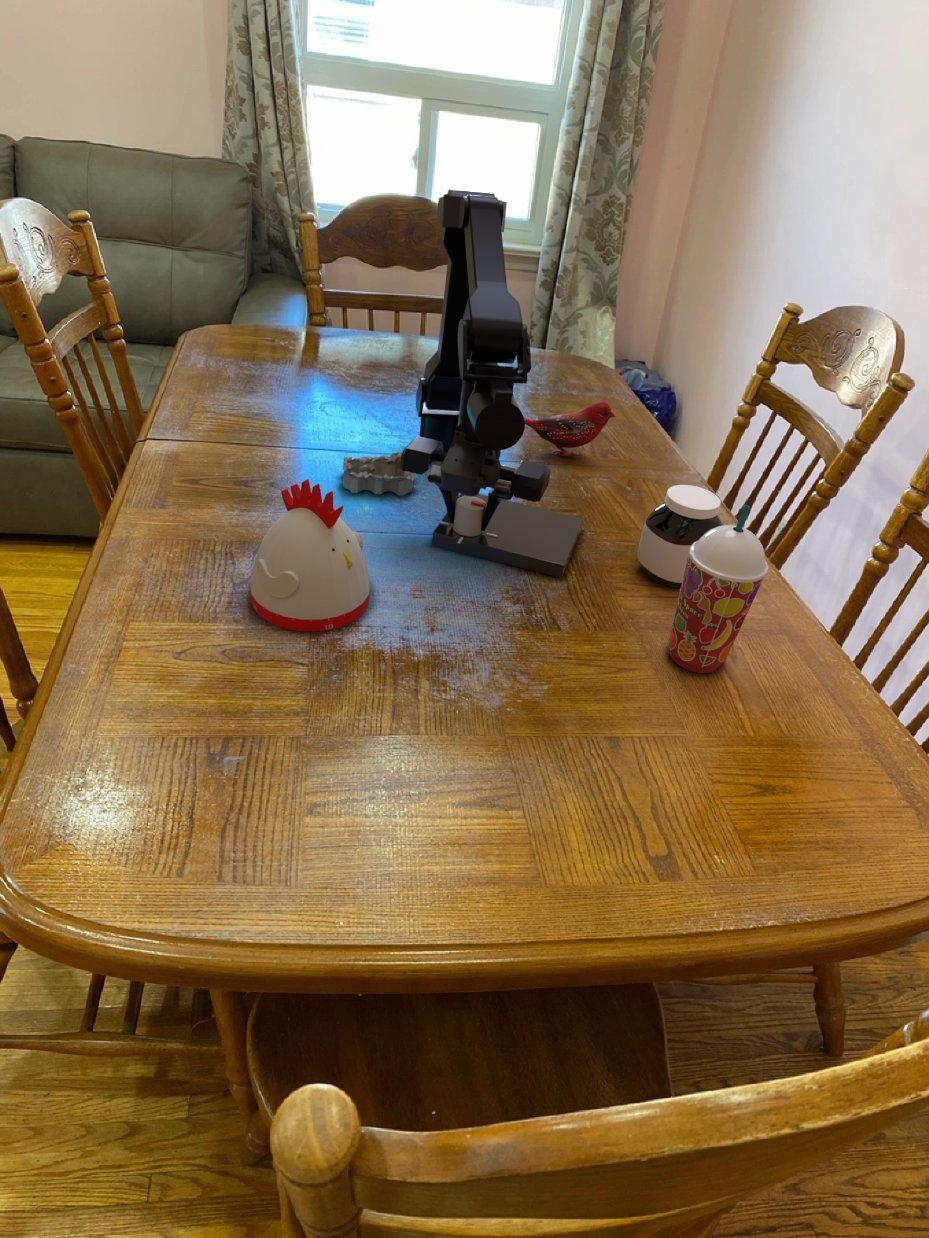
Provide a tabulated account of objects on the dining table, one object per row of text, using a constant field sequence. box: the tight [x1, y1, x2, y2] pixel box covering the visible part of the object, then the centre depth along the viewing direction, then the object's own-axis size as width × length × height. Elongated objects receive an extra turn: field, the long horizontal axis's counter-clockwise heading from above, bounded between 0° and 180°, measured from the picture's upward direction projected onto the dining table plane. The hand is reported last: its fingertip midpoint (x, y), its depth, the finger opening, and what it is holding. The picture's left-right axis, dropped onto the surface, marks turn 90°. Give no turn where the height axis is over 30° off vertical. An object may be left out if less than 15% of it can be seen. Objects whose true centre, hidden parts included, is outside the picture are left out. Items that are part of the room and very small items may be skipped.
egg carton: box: [341, 452, 415, 497], centre depth 122 cm, size 11×8×4 cm
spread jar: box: [636, 484, 724, 589], centre depth 109 cm, size 12×11×12 cm
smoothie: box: [667, 504, 769, 674], centre depth 90 cm, size 8×8×20 cm
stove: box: [431, 492, 584, 579], centre depth 113 cm, size 18×15×2 cm
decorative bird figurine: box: [524, 401, 617, 458], centre depth 136 cm, size 3×18×10 cm, turn 89°
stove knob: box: [453, 496, 486, 536], centre depth 110 cm, size 4×4×4 cm
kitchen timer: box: [249, 478, 371, 633], centre depth 93 cm, size 14×14×15 cm
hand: (468, 526), depth 110 cm, fingers closed on stove knob, 4 cm apart
